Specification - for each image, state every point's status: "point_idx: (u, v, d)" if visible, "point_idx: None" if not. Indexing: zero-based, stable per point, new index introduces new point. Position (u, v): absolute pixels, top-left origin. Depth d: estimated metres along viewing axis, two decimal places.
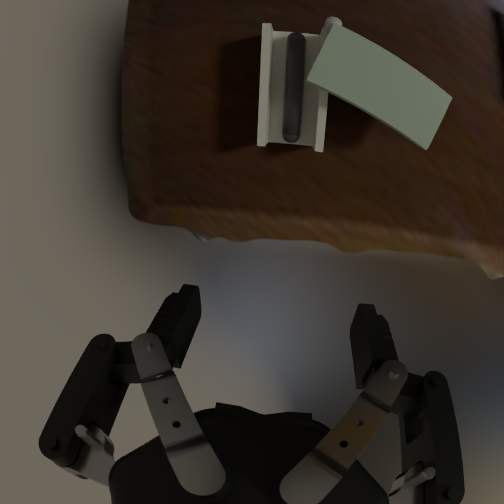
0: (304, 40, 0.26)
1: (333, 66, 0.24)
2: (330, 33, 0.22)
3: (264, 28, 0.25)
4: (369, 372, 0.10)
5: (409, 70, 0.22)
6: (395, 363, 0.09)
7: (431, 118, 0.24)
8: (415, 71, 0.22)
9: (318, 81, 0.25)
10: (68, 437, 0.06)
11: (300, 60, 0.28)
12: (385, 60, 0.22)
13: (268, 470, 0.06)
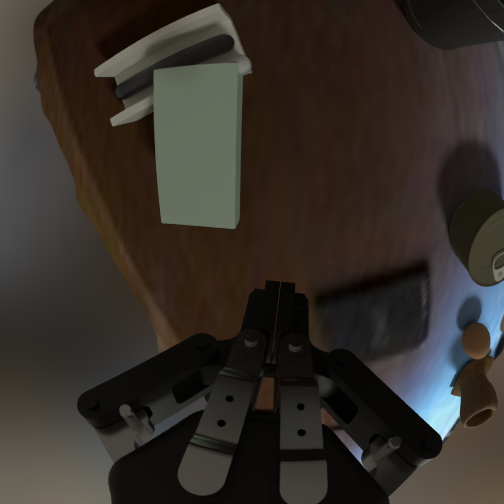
0: (223, 50, 0.23)
1: (181, 85, 0.21)
2: (220, 64, 0.20)
3: (212, 7, 0.19)
4: (278, 345, 0.11)
5: (228, 166, 0.25)
6: (298, 337, 0.10)
7: (193, 213, 0.28)
8: (232, 174, 0.25)
9: (157, 81, 0.21)
10: (109, 408, 0.07)
11: (196, 56, 0.23)
12: (221, 134, 0.23)
13: (268, 470, 0.06)
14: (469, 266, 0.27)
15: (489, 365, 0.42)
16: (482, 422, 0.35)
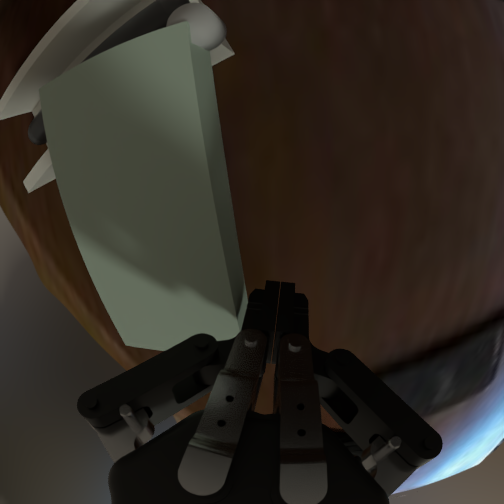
0: None
1: (82, 104, 0.09)
2: (149, 36, 0.07)
3: None
4: (278, 345, 0.11)
5: (210, 262, 0.12)
6: (298, 337, 0.10)
7: (169, 337, 0.15)
8: (221, 275, 0.12)
9: (46, 108, 0.09)
10: (109, 408, 0.07)
11: None
12: (181, 196, 0.10)
13: (268, 470, 0.06)
14: None
15: None
16: None
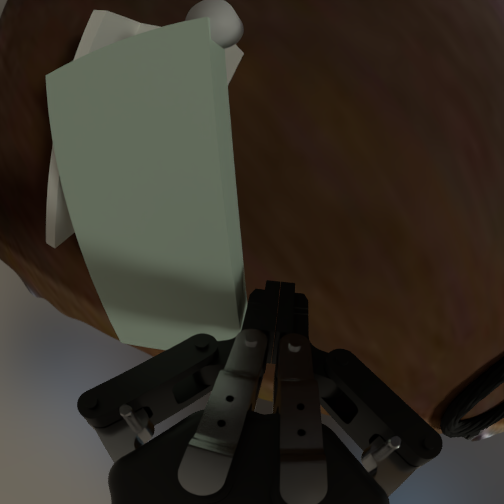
0: None
1: (91, 93, 0.09)
2: (167, 29, 0.07)
3: (91, 21, 0.09)
4: (278, 345, 0.11)
5: (215, 261, 0.12)
6: (298, 337, 0.10)
7: (167, 335, 0.15)
8: (226, 274, 0.12)
9: (52, 96, 0.09)
10: (109, 408, 0.07)
11: None
12: (190, 193, 0.10)
13: (268, 470, 0.06)
14: None
15: None
16: None
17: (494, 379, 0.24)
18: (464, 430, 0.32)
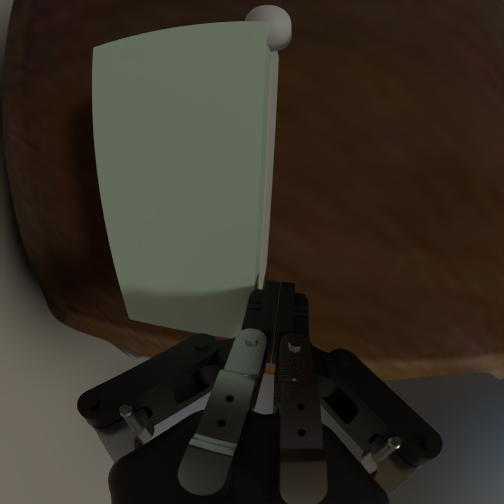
0: None
1: (142, 72, 0.09)
2: (227, 25, 0.08)
3: None
4: (278, 345, 0.11)
5: (242, 244, 0.13)
6: (298, 337, 0.10)
7: (179, 314, 0.16)
8: (250, 258, 0.13)
9: (99, 68, 0.09)
10: (109, 408, 0.07)
11: None
12: (228, 178, 0.11)
13: (268, 470, 0.06)
14: None
15: None
16: None
17: None
18: None
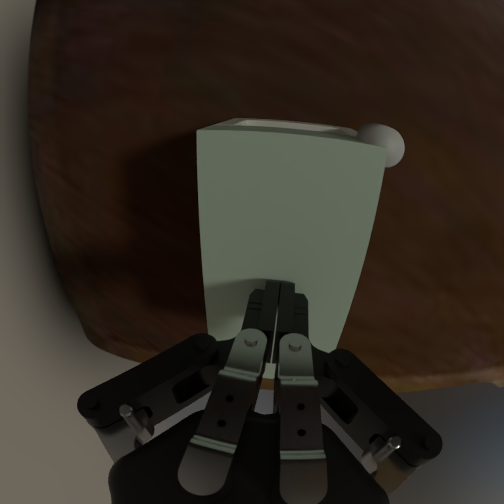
0: None
1: (262, 176, 0.12)
2: (353, 145, 0.10)
3: None
4: (278, 345, 0.11)
5: (333, 322, 0.15)
6: (298, 337, 0.10)
7: None
8: (337, 331, 0.15)
9: (206, 158, 0.11)
10: (109, 408, 0.07)
11: None
12: (333, 278, 0.14)
13: (268, 470, 0.06)
14: None
15: None
16: None
17: None
18: None
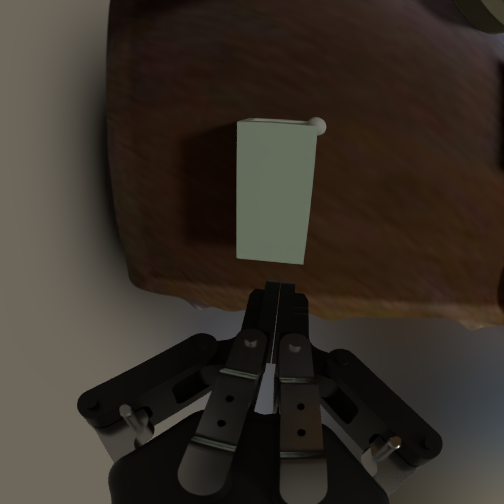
0: None
1: (264, 140, 0.27)
2: (302, 126, 0.25)
3: None
4: (278, 345, 0.11)
5: (303, 215, 0.30)
6: (298, 337, 0.10)
7: (268, 251, 0.33)
8: (306, 221, 0.30)
9: (241, 133, 0.27)
10: (109, 408, 0.07)
11: None
12: (299, 188, 0.29)
13: (268, 470, 0.06)
14: None
15: None
16: None
17: None
18: None
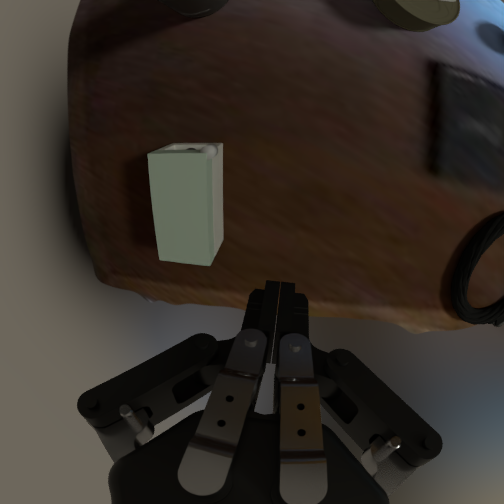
0: None
1: (167, 167, 0.33)
2: (194, 154, 0.32)
3: None
4: (278, 345, 0.11)
5: (203, 225, 0.37)
6: (298, 336, 0.10)
7: (181, 255, 0.40)
8: (206, 230, 0.37)
9: (150, 162, 0.33)
10: (109, 408, 0.07)
11: None
12: (197, 204, 0.35)
13: (268, 470, 0.06)
14: (433, 22, 0.19)
15: None
16: None
17: (468, 258, 0.39)
18: (485, 315, 0.44)
